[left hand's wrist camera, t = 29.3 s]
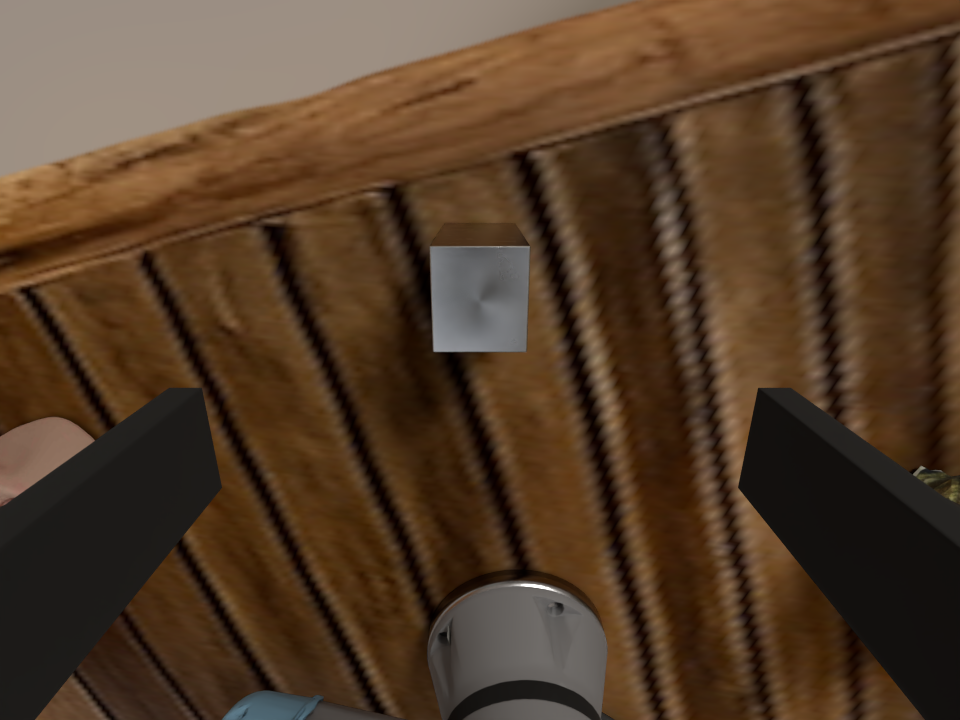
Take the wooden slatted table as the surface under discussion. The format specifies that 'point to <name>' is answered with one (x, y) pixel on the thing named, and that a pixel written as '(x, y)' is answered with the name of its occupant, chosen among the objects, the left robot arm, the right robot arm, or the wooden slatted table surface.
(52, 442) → the anatomical model
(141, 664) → the wooden slatted table surface
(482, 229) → the block
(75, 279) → the wooden slatted table surface
